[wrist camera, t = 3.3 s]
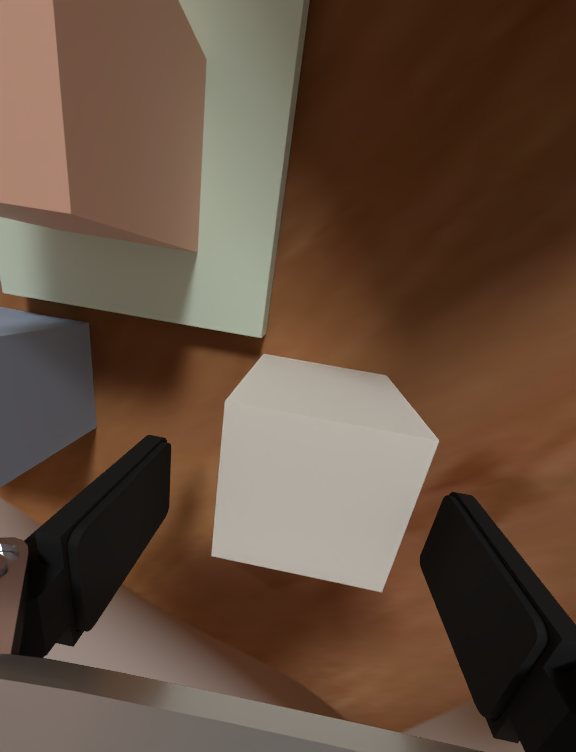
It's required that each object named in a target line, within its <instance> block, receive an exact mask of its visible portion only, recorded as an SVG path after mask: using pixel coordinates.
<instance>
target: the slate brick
mask: <svg viewBox="0 0 576 752" xmlns="http://www.w3.org/2000/svg"><path fill="white" fill-rule="evenodd" d="M96 427H97V425H96V412H95V398H94V384H93V371H92V357H91V344H90V330H89V323H87V322H81V321H76V320H70V319H65V318H59V317H53V316H48V315H42V314H37V313H31V312H26V311H20V310H15V309H9V308H3V307H0V488H1V487H2V486H4V485H5V484H7V483H9V482H10V481H12V480H13V479H15V478H17V477H18V476H20V475H21V474H23V473H25V472H26V471H28V470H29V469H31V468H33V467H34V466H36V465H37V464H39V463H41V462H42V461H44V460H45V459H47V458H49V457H50V456H52V455H53V454H55V453H56V452H58V451H60V450H61V449H63V448H64V447H66V446H68V445H69V444H71V443H72V442H74V441H76V440H77V439H79V438H80V437H82V436H84V435H85V434H87V433H88V432H90V431H92V430H93V429H95V428H96Z"/></svg>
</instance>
